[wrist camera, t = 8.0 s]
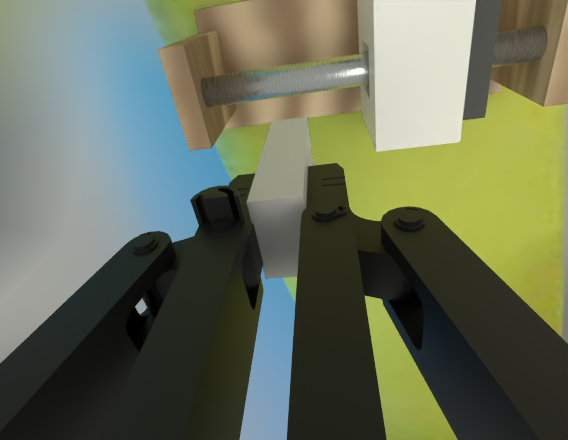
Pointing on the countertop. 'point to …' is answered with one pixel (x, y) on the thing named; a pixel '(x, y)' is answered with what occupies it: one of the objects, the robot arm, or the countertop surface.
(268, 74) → the pipe
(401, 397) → the countertop surface
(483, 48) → the dark grey square plate
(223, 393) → the robot arm
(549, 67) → the stand
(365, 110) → the sleeve
